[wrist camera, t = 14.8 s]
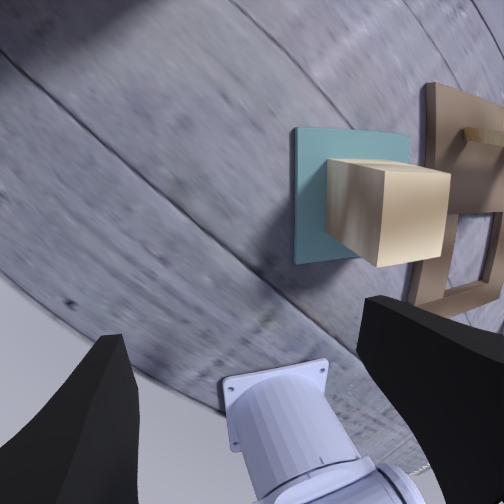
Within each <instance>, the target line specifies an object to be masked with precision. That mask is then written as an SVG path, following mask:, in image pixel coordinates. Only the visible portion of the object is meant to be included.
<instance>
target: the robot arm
mask: <svg viewBox="0 0 504 504" xmlns="http://www.w3.org/2000/svg"><path fill="white" fill-rule="evenodd" d="M356 351H357V353H358V355H359V357H360V359H361V361H362V363H363V364H364V366H365V368H366V370H367V371H368V373H369V375H370V376H371V378H372V379H373V380H374V382H375V383H376V384H377V386H378V387H379V388H380V389H381V391H382V392H383V393H384V395H385V396H386V397H387V399H388V400H389V401H390V402H391V404H392V405H393V406H394V408H395V409H396V410H397V412H398V413H399V414H400V415H401V417H402V418H403V419H404V421H405V422H406V423H407V425H408V426H409V428H410V429H411V431H412V432H413V434H414V436H415V438H416V439H417V441H418V443H419V445H420V446H421V448H422V450H423V452H424V454H425V456H426V458H427V460H428V462H429V464H430V466H431V468H432V469H433V472H434V474H435V476H436V479H437V481H438V483H439V486H440V488H441V491H442V493H443V496H444V499H445V502H446V504H499V503H500V502H501V501H502V502H503V503H504V335H502V334H497V333H493V332H489V331H485V330H481V329H478V328H474V327H471V326H468V325H465V324H462V323H459V322H456V321H453V320H450V319H447V318H445V317H442V316H439V315H437V314H434V313H431V312H429V311H426V310H423V309H421V308H418V307H416V306H413V305H410V304H408V303H405V302H402V301H399V300H396V299H393V298H390V297H387V296H383V295H379V296H374V297H369V298H365V303H364V309H363V315H362V321H361V327H360V332H359V338H358V343H357V348H356ZM328 365H329V363H328V361H327V360H326V359H325V358H321V359H317V360H312V361H308V362H303V363H299V364H294V365H290V366H285V367H280V368H275V369H270V370H264V371H259V372H253V373H248V374H242V375H236V376H230V377H226V378H225V379H224V380H223V382H222V384H223V393H224V402H225V410H226V418H227V426H228V434H229V442H230V448H231V451H232V452H241V451H242V453H243V456H244V459H245V463H246V466H247V469H248V472H249V476H250V479H251V482H252V485H253V488H254V491H255V494H256V497H257V500H258V501H256V502H253V503H252V504H425V502H424V500H423V498H422V496H421V494H420V492H419V490H418V489H417V487H416V486H415V484H414V483H413V482H412V481H411V479H410V478H409V477H408V475H407V474H406V473H405V472H404V471H403V470H401V469H400V468H399V467H397V466H393V465H389V464H387V463H381V464H379V465H377V466H375V465H374V464H373V462H372V461H371V459H370V458H369V456H365V457H363V458H362V457H361V456H360V454H359V452H358V451H357V449H356V448H355V446H354V444H353V443H352V441H351V439H350V438H349V436H348V435H347V433H346V431H345V430H344V428H343V426H342V425H341V423H340V422H339V420H338V418H337V417H336V415H335V413H334V412H333V410H332V408H331V407H330V405H329V403H328V402H327V400H326V399H325V397H324V390H325V384H326V378H327V372H328ZM322 368H323V369H322ZM320 369H321V370H320ZM229 387H232V388H230V389H228V388H229ZM139 424H140V415H139V397H138V386H137V384H136V380H135V377H134V374H133V371H132V368H131V364H130V361H129V358H128V354H127V351H126V347H125V344H124V340H123V336H122V334H116V335H104V336H101V337H100V338H99V339H98V340H97V341H96V343H95V344H94V345H93V346H92V348H91V349H90V350H89V352H88V353H87V354H86V356H85V357H84V358H83V360H82V361H81V362H80V363H79V365H78V366H77V367H76V368H75V370H74V371H73V372H72V374H71V375H70V376H69V377H68V379H67V380H66V381H65V383H64V384H63V385H62V386H61V387H60V388H59V390H58V391H57V392H56V393H55V394H54V395H53V397H52V398H51V399H50V400H49V401H48V402H47V403H46V405H45V406H44V407H43V408H42V409H41V410H40V411H39V412H38V414H37V415H35V417H34V418H33V419H32V420H31V421H30V422H29V423H28V424H27V425H26V426H25V427H23V428H22V429H21V430H20V431H19V432H18V433H17V434H16V435H15V436H14V437H13V438H12V439H10V440H9V441H8V442H7V443H6V444H4V445H3V446H2V447H1V448H0V504H139V503H138V490H137V472H138V470H137V469H138V444H139Z"/></svg>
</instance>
